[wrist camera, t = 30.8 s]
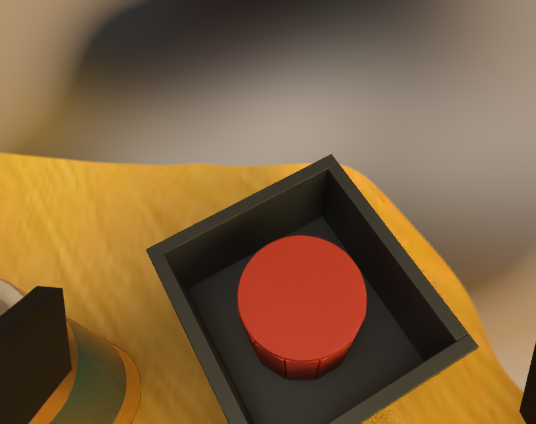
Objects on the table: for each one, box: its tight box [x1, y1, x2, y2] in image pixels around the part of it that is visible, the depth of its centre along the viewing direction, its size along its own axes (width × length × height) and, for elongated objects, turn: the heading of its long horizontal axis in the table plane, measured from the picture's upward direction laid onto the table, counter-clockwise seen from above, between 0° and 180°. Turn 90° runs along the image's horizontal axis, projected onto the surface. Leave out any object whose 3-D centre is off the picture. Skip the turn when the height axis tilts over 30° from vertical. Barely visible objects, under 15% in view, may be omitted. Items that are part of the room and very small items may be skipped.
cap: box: [237, 235, 367, 380], centre depth 28 cm, size 7×7×7 cm
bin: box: [146, 154, 478, 424], centre depth 29 cm, size 14×13×7 cm
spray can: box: [0, 279, 141, 424], centre depth 24 cm, size 7×7×16 cm
